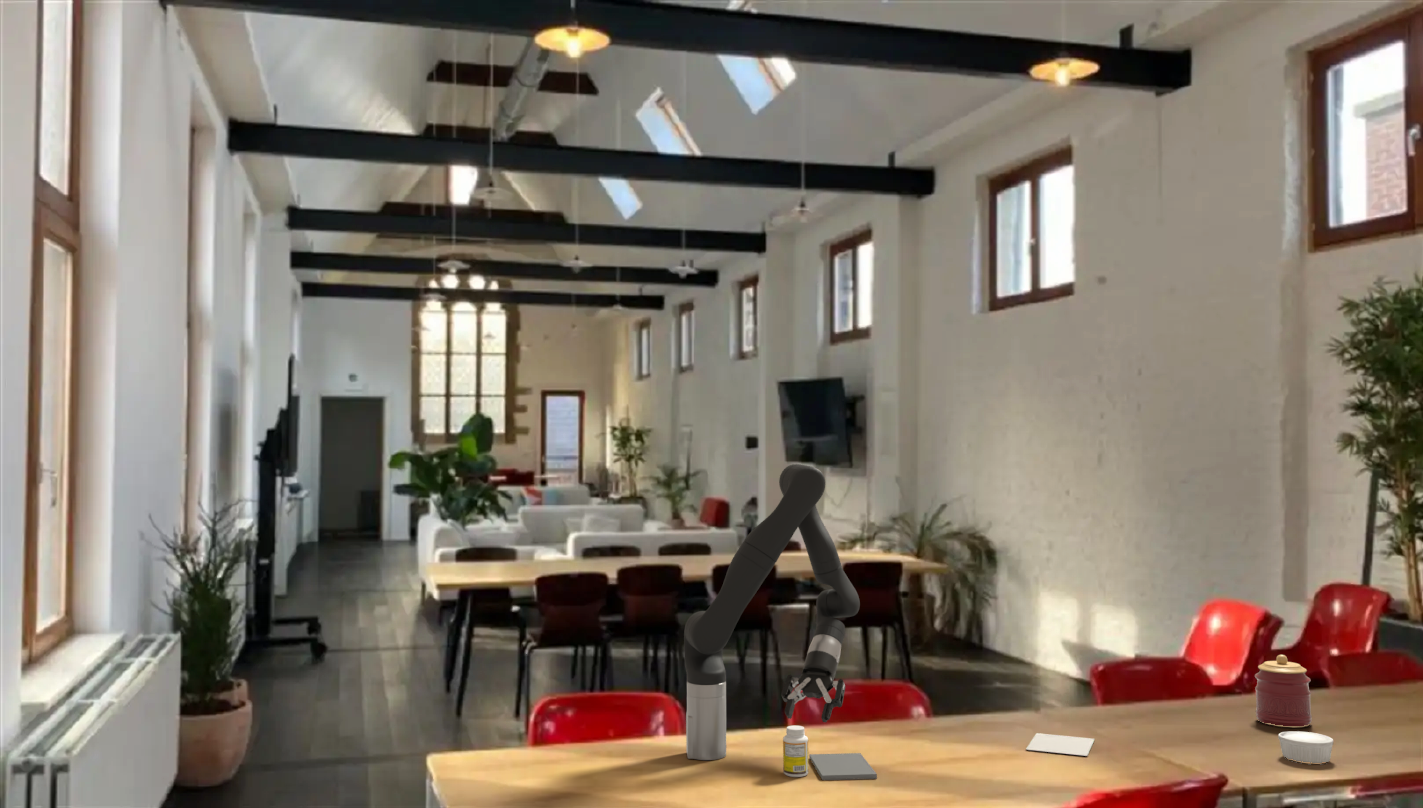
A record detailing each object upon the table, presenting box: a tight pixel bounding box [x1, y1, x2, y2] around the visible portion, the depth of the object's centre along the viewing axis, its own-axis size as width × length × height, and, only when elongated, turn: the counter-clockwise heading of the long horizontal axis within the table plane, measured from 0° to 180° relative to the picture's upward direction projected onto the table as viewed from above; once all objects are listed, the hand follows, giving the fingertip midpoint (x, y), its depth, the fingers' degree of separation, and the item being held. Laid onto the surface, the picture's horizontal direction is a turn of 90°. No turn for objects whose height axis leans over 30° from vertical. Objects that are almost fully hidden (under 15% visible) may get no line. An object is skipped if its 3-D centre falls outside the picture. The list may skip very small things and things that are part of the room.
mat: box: [808, 752, 878, 781], centre depth 249 cm, size 12×17×1 cm
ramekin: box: [1277, 730, 1334, 763], centre depth 255 cm, size 11×11×5 cm
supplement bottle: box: [782, 725, 809, 778], centre depth 245 cm, size 6×6×10 cm
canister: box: [1254, 654, 1313, 726], centre depth 290 cm, size 13×13×18 cm
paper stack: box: [1025, 732, 1095, 757], centre depth 262 cm, size 23×25×1 cm
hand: (806, 718), depth 251 cm, fingers open, 8 cm apart
